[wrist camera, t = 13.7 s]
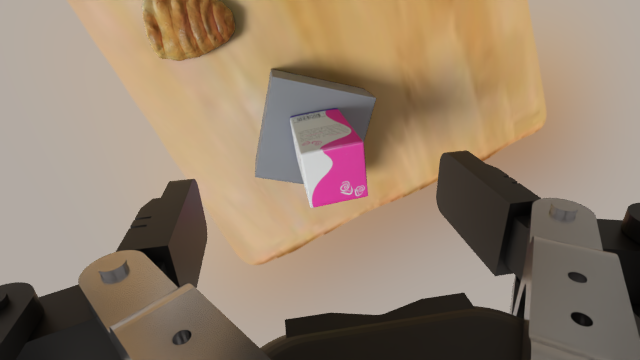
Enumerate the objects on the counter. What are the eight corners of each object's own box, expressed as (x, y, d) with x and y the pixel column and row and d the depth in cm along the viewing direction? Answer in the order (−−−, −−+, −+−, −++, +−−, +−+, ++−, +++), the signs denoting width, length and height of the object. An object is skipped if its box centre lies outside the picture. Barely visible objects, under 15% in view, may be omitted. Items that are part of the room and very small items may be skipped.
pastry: (228, -14, 40) (225, -16, 37) (241, 50, 43) (239, 54, 40) (141, -3, 40) (130, -3, 36) (160, 62, 43) (152, 67, 39)
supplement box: (297, 163, 44) (308, 210, 34) (288, 115, 41) (298, 150, 31) (344, 154, 44) (369, 198, 34) (338, 106, 42) (364, 138, 32)
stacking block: (270, 68, 45) (272, 76, 39) (363, 88, 47) (376, 98, 42) (255, 158, 49) (255, 177, 44) (340, 171, 52) (349, 190, 47)
